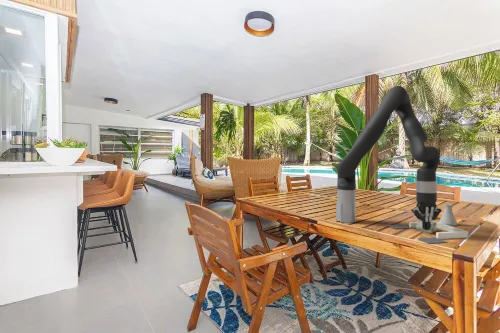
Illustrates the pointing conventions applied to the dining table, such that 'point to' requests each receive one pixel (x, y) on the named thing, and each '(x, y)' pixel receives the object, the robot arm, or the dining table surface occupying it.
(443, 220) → the flask
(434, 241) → the mats
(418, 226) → the sage block
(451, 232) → the grey u-shaped bracket
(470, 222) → the dining table surface
